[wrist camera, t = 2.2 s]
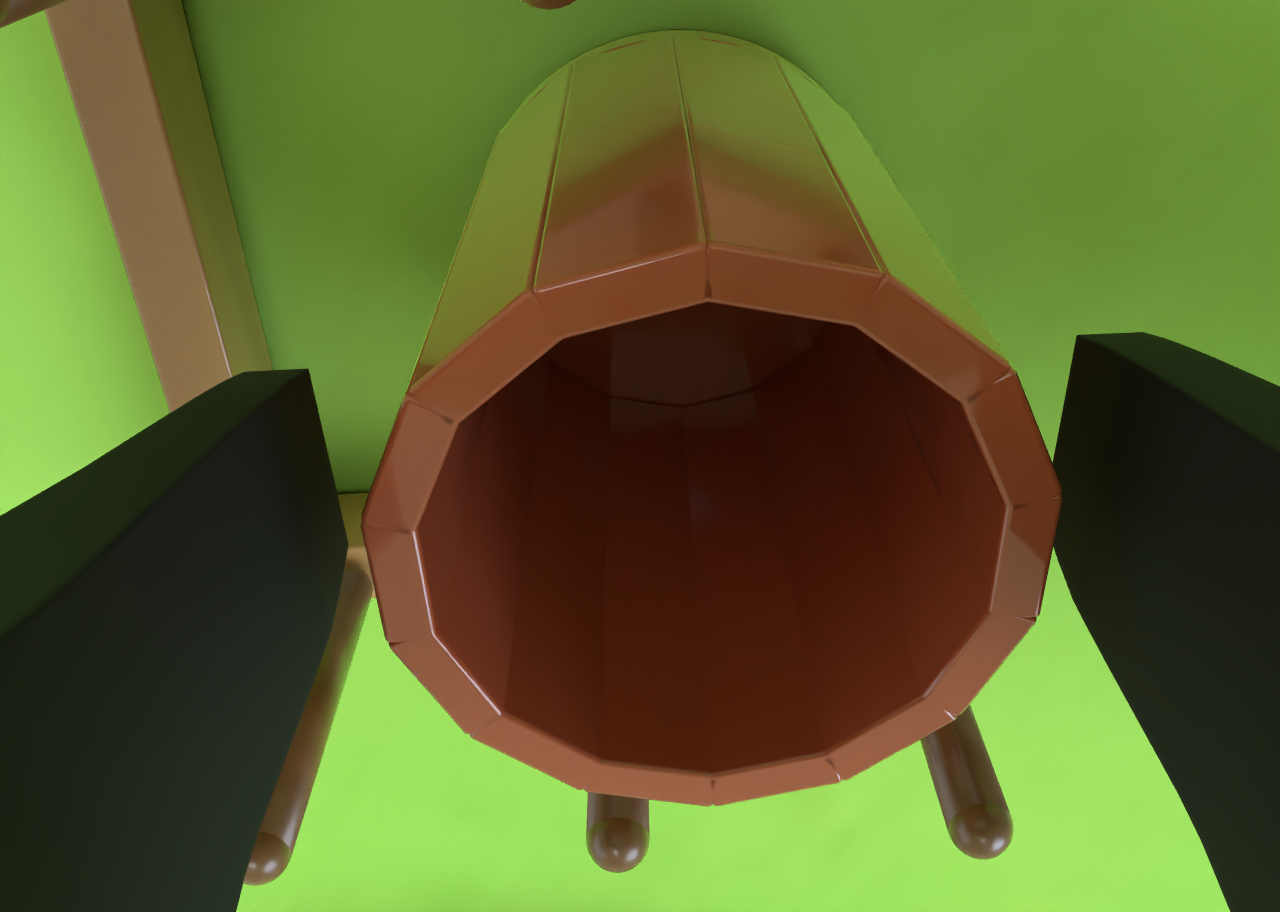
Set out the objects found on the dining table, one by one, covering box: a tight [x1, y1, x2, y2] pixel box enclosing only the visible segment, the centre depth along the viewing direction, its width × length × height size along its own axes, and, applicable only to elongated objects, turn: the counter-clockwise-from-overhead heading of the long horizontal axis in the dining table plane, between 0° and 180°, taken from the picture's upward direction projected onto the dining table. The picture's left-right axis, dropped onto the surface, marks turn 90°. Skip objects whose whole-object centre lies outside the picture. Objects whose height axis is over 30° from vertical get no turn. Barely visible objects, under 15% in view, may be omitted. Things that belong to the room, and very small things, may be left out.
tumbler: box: [361, 30, 1062, 806], centre depth 12 cm, size 6×6×8 cm
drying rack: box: [0, 0, 1013, 886], centre depth 12 cm, size 12×10×7 cm
